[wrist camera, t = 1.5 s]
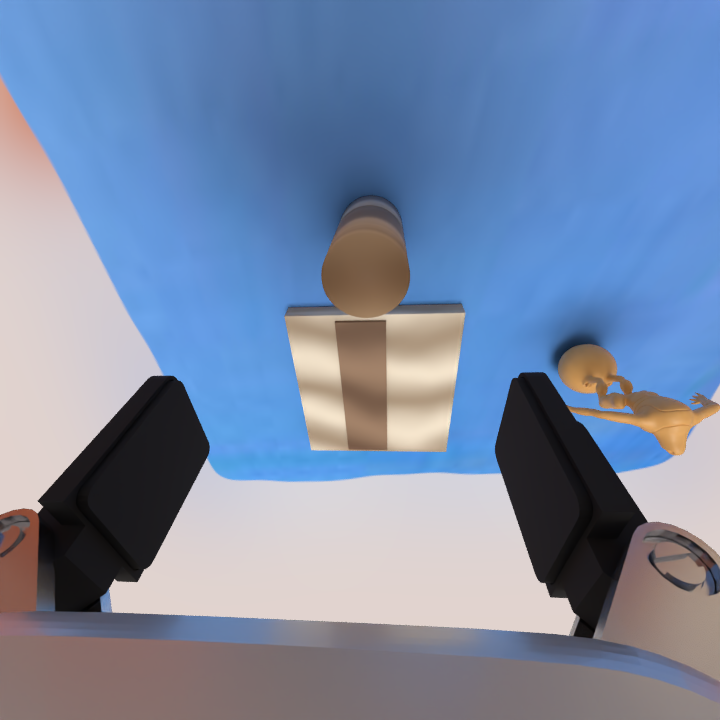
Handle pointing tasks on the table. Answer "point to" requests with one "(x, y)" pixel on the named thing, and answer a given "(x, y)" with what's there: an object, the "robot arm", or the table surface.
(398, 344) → the floor board
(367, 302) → the brown cylinder
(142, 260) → the table surface
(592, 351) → the figurine
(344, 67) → the table surface
